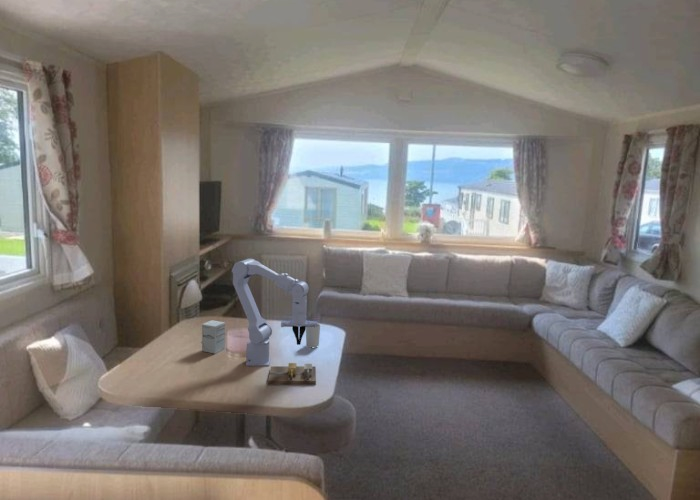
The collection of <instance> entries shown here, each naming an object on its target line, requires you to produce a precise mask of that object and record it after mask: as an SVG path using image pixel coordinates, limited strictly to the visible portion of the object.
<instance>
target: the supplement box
mask: <svg viewBox="0 0 700 500" xmlns="http://www.w3.org/2000/svg"><path fill="white" fill-rule="evenodd" d="M225 349H226V322H224V321H218V320H213V319H211V320H209V321H206V322H203V323H202V324H201V351H202V352H206V353H210V354H214V355H216V354H218V353H220V352H222V351H224V350H225Z"/></svg>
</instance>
